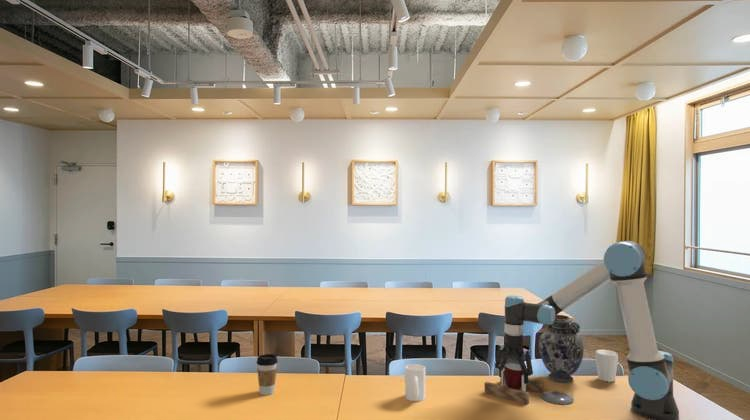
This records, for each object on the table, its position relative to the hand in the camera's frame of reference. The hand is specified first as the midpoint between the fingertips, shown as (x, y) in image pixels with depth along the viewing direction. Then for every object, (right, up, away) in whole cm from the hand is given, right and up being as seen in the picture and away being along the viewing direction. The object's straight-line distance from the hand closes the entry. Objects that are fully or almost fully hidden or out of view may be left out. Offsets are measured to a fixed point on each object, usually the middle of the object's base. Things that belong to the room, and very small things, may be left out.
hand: (513, 388), depth 187 cm
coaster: (+16, -1, -7) cm, 17 cm away
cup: (+46, -2, +15) cm, 49 cm away
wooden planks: (0, -1, 0) cm, 1 cm away
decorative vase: (+26, -2, +15) cm, 30 cm away
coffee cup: (-102, -1, -2) cm, 102 cm away
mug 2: (0, -2, 0) cm, 2 cm away
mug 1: (-42, -1, -8) cm, 43 cm away
